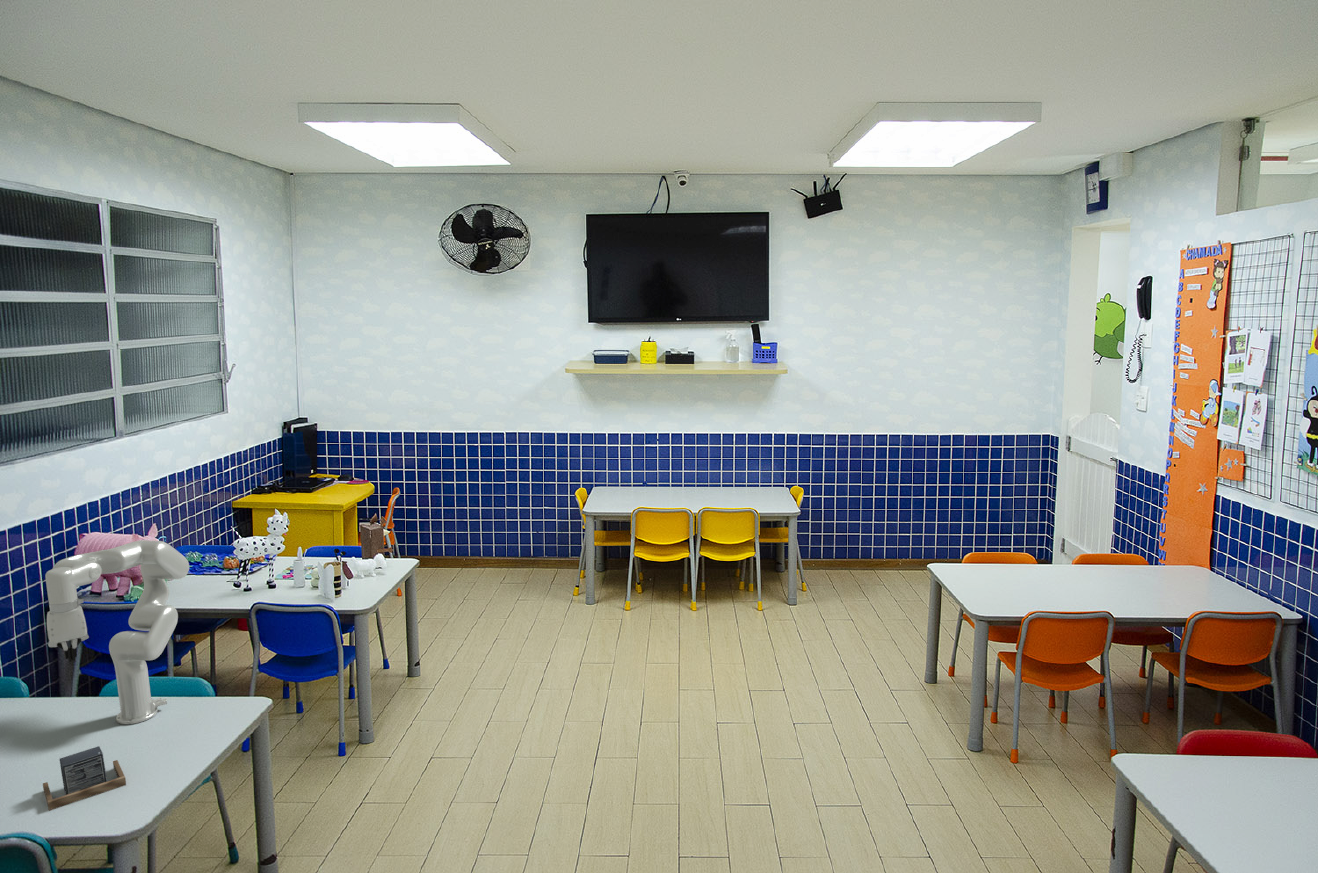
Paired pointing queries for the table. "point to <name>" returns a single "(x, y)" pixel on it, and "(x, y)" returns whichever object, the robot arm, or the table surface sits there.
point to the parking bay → (85, 790)
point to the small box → (83, 770)
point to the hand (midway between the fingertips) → (71, 659)
